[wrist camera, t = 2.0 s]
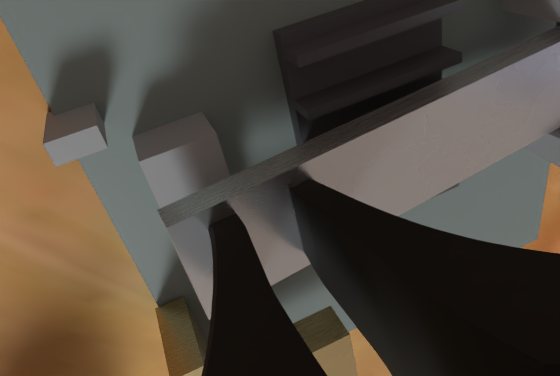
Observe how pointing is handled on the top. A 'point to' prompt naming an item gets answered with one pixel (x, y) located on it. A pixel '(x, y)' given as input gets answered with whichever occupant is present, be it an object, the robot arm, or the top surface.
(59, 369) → the top surface
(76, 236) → the top surface
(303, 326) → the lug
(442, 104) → the strap
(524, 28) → the clip base
